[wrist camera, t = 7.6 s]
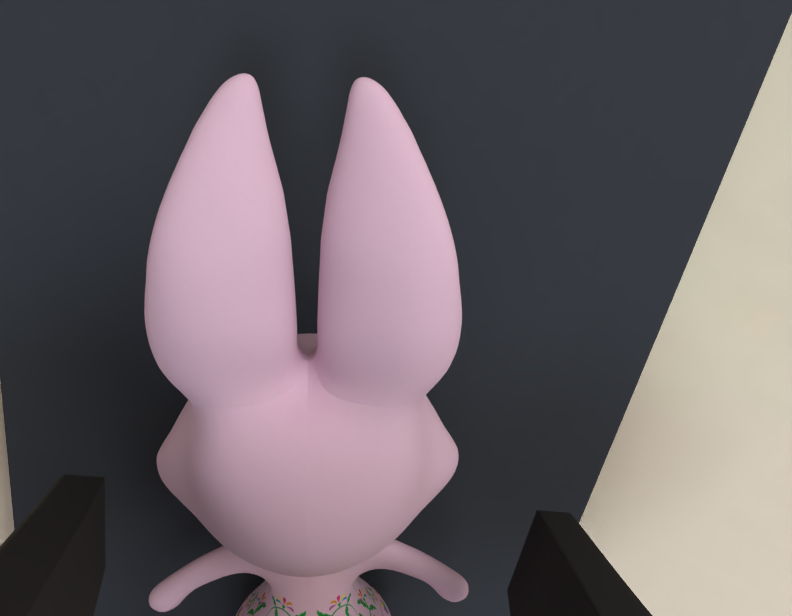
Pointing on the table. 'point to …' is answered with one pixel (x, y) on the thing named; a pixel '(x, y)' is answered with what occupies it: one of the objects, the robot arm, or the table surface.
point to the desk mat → (305, 204)
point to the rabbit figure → (304, 360)
